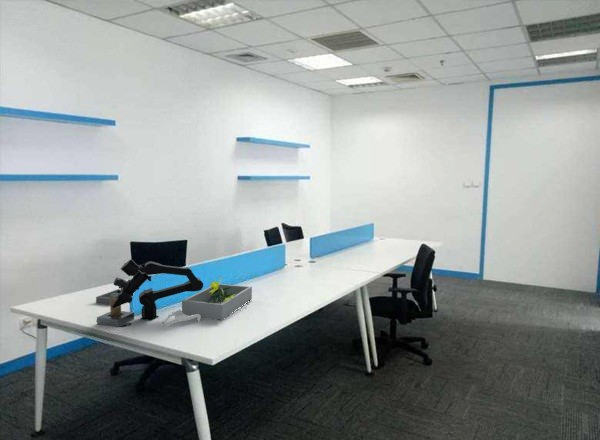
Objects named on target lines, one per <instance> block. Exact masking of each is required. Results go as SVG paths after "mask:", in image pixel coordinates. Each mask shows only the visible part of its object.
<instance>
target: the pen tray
mask: <svg viewBox="0 0 600 440" xmlns="http://www.w3.org/2000/svg"><path fill="white" fill-rule="evenodd" d="M118 289H119V288H118ZM118 289H114V290H112V291H109V292H107V293H104V294H100V295H98V296H96V297H95V303H96V304H100V305H101V304H103V305H110V294H112V293H118ZM120 289H121V288H120ZM120 289H119V290H120Z"/></svg>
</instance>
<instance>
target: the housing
mask: <svg viewBox="0 0 600 440" xmlns="http://www.w3.org/2000/svg"><path fill="white" fill-rule="evenodd" d="M134 320H135V312H133V311H123V310H121V316H119V317H111V311H108V312H106V313H104V314H102V315H101V314H100V316H97V317H96V325H100V326H106V327H114V328H115V327H117V328H119V327H121V326H123V325H126V324H128V323H129V322H132V321H134ZM125 323H126V324H125Z"/></svg>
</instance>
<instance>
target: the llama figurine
mask: <svg viewBox="0 0 600 440" xmlns="http://www.w3.org/2000/svg"><path fill="white" fill-rule="evenodd" d="M172 317H174V318H175V319H174V320H172V321H171V322H169V323H167V324H166V325H165V323H166V322H167V321H169V319H170V318H172ZM196 317H197V318H196ZM195 318H196V320H198V322H200V320H201V319H202V318H201V316H200V315H199V314H195V315H190V316H187V315H185V314H184V313H183V312H182V309H177V310H174V311H172V312H171V314H170V313H169V314H168V315H167V317H166V318H165V319H163V321H161V323H162V324H163V328H164V329H166V328H167V327H169V326H171V325H173V324H175V323H180V322H183V321H184V322H185V321H191V320H192V319H195Z"/></svg>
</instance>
